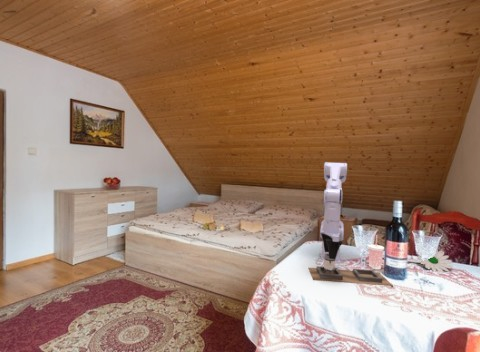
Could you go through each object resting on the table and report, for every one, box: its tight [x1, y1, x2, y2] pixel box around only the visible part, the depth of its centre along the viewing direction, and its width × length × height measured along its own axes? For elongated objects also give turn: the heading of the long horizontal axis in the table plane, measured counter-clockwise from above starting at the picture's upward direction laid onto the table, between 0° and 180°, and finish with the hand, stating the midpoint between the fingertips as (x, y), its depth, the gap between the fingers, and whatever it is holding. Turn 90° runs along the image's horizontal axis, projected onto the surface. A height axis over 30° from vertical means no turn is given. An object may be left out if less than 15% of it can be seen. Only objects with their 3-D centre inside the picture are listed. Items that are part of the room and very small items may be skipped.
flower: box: [382, 249, 453, 274], centre depth 122 cm, size 13×6×30 cm
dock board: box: [308, 266, 394, 288], centre depth 105 cm, size 12×28×2 cm, turn 85°
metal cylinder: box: [323, 254, 336, 274], centre depth 105 cm, size 4×4×8 cm
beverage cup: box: [367, 234, 385, 270], centre depth 116 cm, size 6×6×14 cm
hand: (329, 255), depth 105 cm, fingers open, 7 cm apart
